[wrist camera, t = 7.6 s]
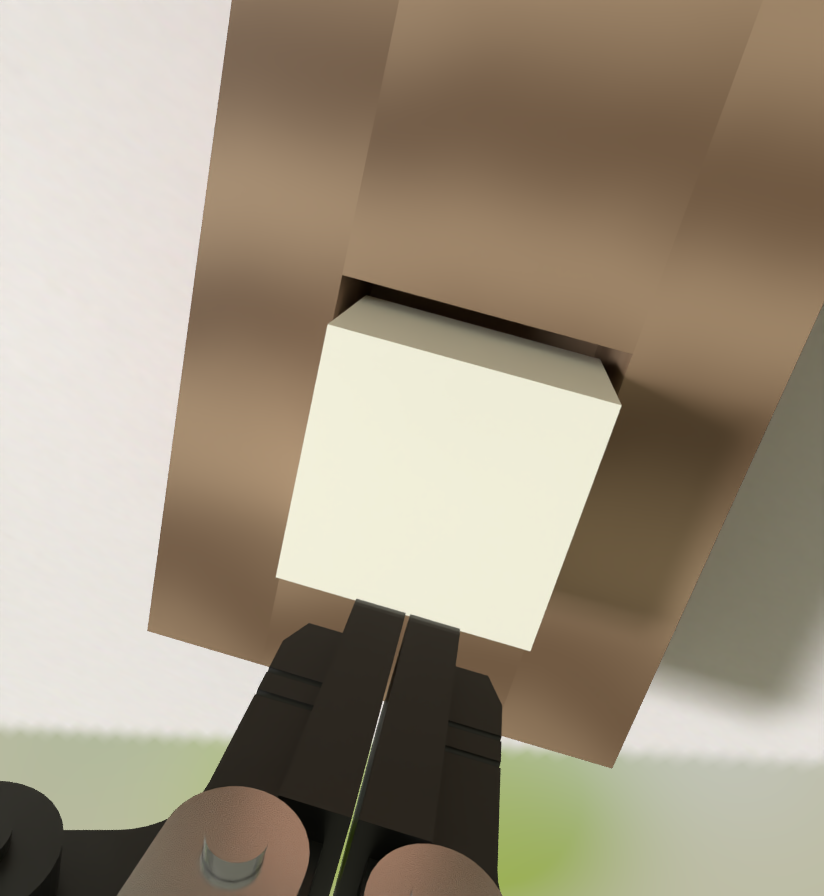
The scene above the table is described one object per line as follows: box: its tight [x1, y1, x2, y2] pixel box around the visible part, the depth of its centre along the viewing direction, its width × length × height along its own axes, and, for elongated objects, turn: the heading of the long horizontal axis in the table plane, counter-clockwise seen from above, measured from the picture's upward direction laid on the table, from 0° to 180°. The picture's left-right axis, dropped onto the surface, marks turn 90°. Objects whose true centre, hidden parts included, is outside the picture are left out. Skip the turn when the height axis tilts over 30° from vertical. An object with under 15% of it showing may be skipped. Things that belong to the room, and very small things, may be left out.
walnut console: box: [147, 0, 824, 768], centre depth 18 cm, size 32×14×6 cm, turn 165°
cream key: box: [276, 295, 622, 651], centre depth 17 cm, size 6×6×4 cm
